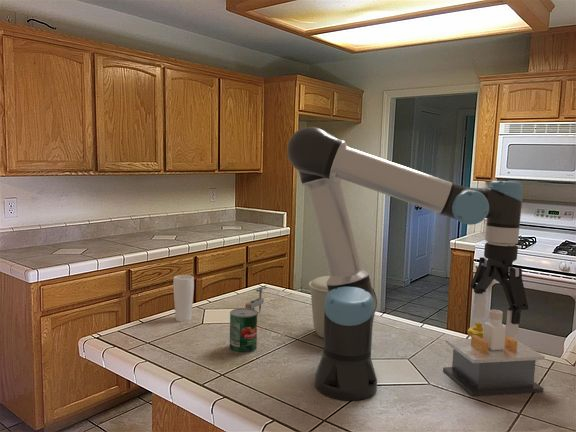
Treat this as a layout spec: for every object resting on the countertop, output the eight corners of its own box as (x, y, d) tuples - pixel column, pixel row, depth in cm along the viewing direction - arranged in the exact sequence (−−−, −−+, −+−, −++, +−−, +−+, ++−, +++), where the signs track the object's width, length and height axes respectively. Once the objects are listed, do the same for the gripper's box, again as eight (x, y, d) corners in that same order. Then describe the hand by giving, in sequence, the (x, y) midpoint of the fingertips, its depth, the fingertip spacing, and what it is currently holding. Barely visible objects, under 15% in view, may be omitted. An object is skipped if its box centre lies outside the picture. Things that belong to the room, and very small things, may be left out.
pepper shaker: (505, 350, 119) (508, 313, 118) (491, 351, 118) (494, 314, 117) (495, 344, 123) (497, 308, 122) (481, 345, 122) (484, 309, 121)
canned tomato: (234, 342, 143) (234, 306, 142) (259, 345, 141) (260, 309, 140) (225, 352, 135) (226, 315, 134) (252, 355, 134) (253, 317, 132)
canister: (358, 349, 140) (361, 279, 138) (299, 340, 146) (301, 273, 143) (368, 330, 157) (371, 267, 155) (315, 322, 163) (317, 262, 160)
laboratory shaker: (472, 396, 113) (475, 350, 112) (442, 371, 127) (445, 330, 125) (543, 391, 116) (547, 347, 115) (507, 367, 130) (510, 327, 129)
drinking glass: (184, 315, 166) (184, 273, 164) (197, 320, 162) (198, 276, 161) (169, 320, 161) (169, 277, 159) (182, 325, 157) (182, 280, 155)
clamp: (250, 322, 160) (251, 292, 160) (244, 321, 161) (245, 291, 161) (267, 312, 174) (268, 285, 174) (261, 312, 175) (262, 285, 175)
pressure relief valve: (470, 351, 141) (472, 318, 140) (513, 363, 133) (516, 328, 132) (463, 357, 137) (466, 323, 135) (508, 369, 129) (511, 333, 128)
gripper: (550, 252, 106) (542, 344, 108) (485, 235, 131) (479, 310, 133) (520, 252, 105) (512, 345, 107) (460, 235, 129) (455, 311, 132)
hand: (494, 326), depth 120 cm, fingers open, 13 cm apart
